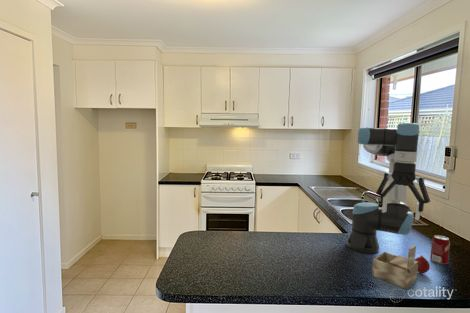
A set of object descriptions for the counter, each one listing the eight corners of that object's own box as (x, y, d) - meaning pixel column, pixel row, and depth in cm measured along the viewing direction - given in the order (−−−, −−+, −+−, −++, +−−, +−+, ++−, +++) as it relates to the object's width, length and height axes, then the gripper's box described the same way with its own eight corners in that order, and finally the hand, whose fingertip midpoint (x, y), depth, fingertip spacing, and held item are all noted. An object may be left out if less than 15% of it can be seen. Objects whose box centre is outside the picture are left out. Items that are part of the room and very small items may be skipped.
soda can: (440, 266, 126) (443, 240, 125) (426, 259, 133) (429, 235, 131) (451, 264, 128) (454, 239, 127) (437, 258, 134) (439, 234, 133)
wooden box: (371, 275, 115) (373, 258, 115) (383, 266, 123) (384, 250, 123) (408, 290, 105) (409, 271, 105) (418, 279, 113) (419, 262, 113)
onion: (422, 270, 122) (424, 252, 121) (432, 277, 116) (434, 258, 115) (409, 270, 121) (411, 252, 121) (418, 276, 116) (420, 258, 115)
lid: (389, 263, 111) (391, 245, 110) (398, 256, 118) (400, 239, 117) (409, 270, 106) (411, 251, 105) (417, 262, 112) (419, 244, 112)
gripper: (370, 159, 117) (366, 210, 119) (438, 166, 99) (432, 225, 101) (377, 158, 122) (373, 207, 123) (443, 164, 104) (437, 221, 106)
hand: (399, 215), depth 112 cm, fingers open, 11 cm apart
